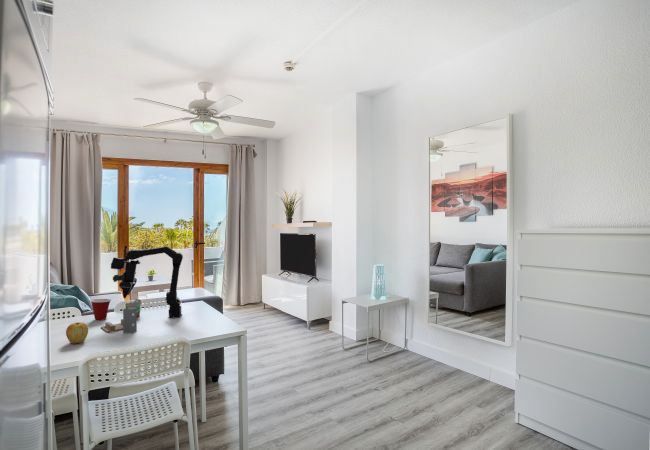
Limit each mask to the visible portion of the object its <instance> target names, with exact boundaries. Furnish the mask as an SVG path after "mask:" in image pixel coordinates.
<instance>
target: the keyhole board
mask: <svg viewBox="0 0 650 450" xmlns="http://www.w3.org/2000/svg"><path fill="white" fill-rule="evenodd" d="M100 329H102V330H103V331H104V332H106V334H107V333H114V332H118V331H123V318H122V319H120V323H115V324H113V323H112V322H110V321H105V322H104V325H103V326H100Z"/></svg>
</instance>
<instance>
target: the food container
mask: <svg viewBox="0 0 650 450" xmlns="http://www.w3.org/2000/svg"><path fill="white" fill-rule="evenodd" d="M142 303H143V302H142V300H141V299H138V298H135V299H134V301H130V302H126V303H125V304H124V307H125V309H126V308H130V307H131V308H136V313H137V319H138V318H140V317H141V315H140V314H141V305H142Z"/></svg>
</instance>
